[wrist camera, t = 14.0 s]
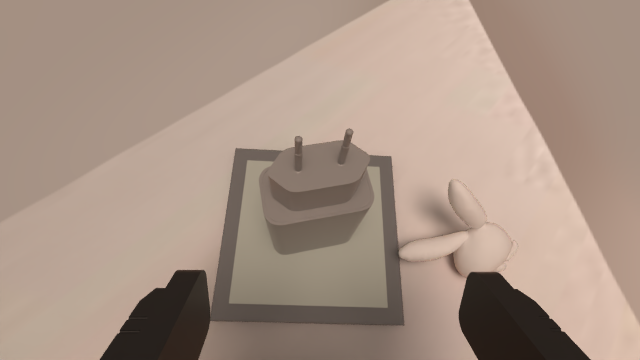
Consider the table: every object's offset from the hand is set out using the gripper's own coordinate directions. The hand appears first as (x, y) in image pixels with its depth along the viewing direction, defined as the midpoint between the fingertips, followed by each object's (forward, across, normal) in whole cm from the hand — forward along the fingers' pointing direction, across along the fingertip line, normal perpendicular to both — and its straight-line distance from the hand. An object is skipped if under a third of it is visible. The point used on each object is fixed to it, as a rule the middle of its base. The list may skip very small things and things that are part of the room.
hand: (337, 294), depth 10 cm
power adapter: (+12, 0, +4) cm, 13 cm away
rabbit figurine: (+12, -9, +6) cm, 16 cm away
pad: (+12, 0, +5) cm, 13 cm away
